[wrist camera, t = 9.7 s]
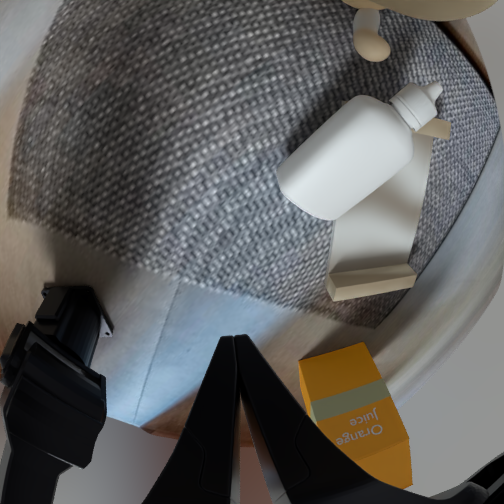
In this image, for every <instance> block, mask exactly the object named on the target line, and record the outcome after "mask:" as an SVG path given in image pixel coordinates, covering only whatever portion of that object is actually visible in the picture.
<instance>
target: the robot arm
mask: <svg viewBox="0 0 504 504" xmlns="http://www.w3.org/2000/svg"><path fill="white" fill-rule="evenodd" d="M88 291H89V292H88ZM41 294H42V296H43V298H44V300H43V302H42V304H41V306H40V307H39V309H38V311H37V313H36V315H35V318H36V321H35V323H34V324H33V323H32V322H31V321H28V322H27V324H26V325H24V324H23V325H22V324H19V323H17V324H16V325H15V327H14V329H13V331H12V333H11V335H10V337H9V339H8V341H7V343H6V345H5V347H4V350H3V352H2V355H1V357H0V363H1V366H2V370H1V373H2V374H1V378H0V382H1V383H2V384H4V385H5V387H4V390H3V392H2V395H1V398H0V408H1V414H2V419H3V424H4V429H5V433H6V437H7V440H6V444H5V448H4V451H3V456H2V459H1V464H0V504H53V500H54V495H55V491H56V486H57V482H58V479H59V476H60V475H61V474H62V473H64V472H65V471H67V470H68V469H70V468H71V467H73V466H76V467H78V468H81V469H84V468H85V467H86V466H87V465H88V464H89V463H90V462H91V459H92V454H93V449H94V445H95V441H96V439H97V437H98V434H99V432H100V431H101V430H102V428H103V426H104V423H105V420H106V415H107V405H106V377H105V376H103V375H101V374H98V373H97V372H95V371H94V370H92V369H90V365H91V362H92V358H93V355H94V352H95V348H96V345H97V342H98V339H99V337H111V336H112V334H113V331H112V329H111V327H110V325H109V323H108V321H107V319H106V317H105V315H104V313H103V310H102V308H101V306H100V304H99V302H98V300H97V297H96V295H95V293H94V290H93V289H92V288H91V287H90V286H74V287H52V288H43V290H42V292H41ZM239 387H240V388H239ZM240 395H241V400H242V404H243V408H244V411H245V415H246V419H247V422H248V426H249V429H250V433H251V436H252V439H253V443H254V446H255V449H256V453H257V456H258V459H259V462H260V466H261V469H262V472H263V475H264V478H265V481H266V484H267V487H268V490H269V493H270V496H271V499H272V502H273V504H504V452H503V453H502V454H500V455H498V456H497V457H495V458H494V459H493V460H491V461H490V462H489V463H487V464H486V465H485V466H483V467H482V468H480V469H479V470H478V471H477V472H475V473H474V474H473V475H472V476H470V477H469V478H468V479H467V480H465V481H464V482H463V483H461V484H460V485H458V486H456V487H454V488H452V489H449V490H447V491H444V492H442V493H439V494H437V495H434V496H431V497H425V496H422V495H418V494H415V493H412V492H409V491H406V490H403V489H400V488H398V487H395V486H392V485H390V484H387V483H384V482H382V481H380V480H378V479H376V478H375V477H373V476H372V475H370V474H369V473H367V472H366V471H365V470H363V469H362V468H361V467H360V466H359V465H357V464H356V463H355V462H354V461H353V460H352V459H350V458H349V457H348V456H347V455H346V454H345V453H344V452H342V451H341V450H340V449H339V448H338V447H337V446H336V445H335V444H334V443H333V442H332V441H331V440H330V439H328V438H327V437H326V436H325V434H324V433H323V432H322V431H321V430H320V429H319V428H318V426H317V425H316V424H315V423H314V422H313V421H312V419H311V418H310V417H309V416H308V415H306V412H305V411H304V409H303V408H302V407H301V406H300V404H299V403H298V402H297V400H296V399H295V398H294V397H293V395H292V394H291V393H290V391H289V390H288V389H287V388H286V386H285V385H284V384H283V382H282V381H281V380H280V378H279V377H278V376H277V374H276V373H275V372H274V370H273V369H272V368H271V366H270V365H269V363H268V362H267V361H266V359H265V358H264V357H263V355H262V354H261V353H260V351H259V350H258V348H257V347H256V346H255V344H254V343H253V341H252V340H251V339H250V337H249V336H248V335H247V334H242V335H235V337H233V336H222V337H220V339H219V342H218V344H217V347H216V349H215V351H214V354H213V356H212V359H211V361H210V364H209V366H208V369H207V371H206V374H205V376H204V379H203V381H202V384H201V386H200V389H199V391H198V394H197V396H196V399H195V401H194V403H193V406H192V408H191V411H190V413H189V416H188V418H187V421H186V423H185V427H184V428H183V430H182V433H181V435H180V438H179V440H178V442H177V444H176V446H175V449H174V451H173V453H172V455H171V457H170V458H169V460H168V462H167V464H166V466H165V467H164V469H163V471H162V472H161V474H160V476H159V477H158V479H157V481H156V482H155V484H154V486H153V487H152V489H151V490H150V492H149V494H148V495H147V497H146V498H145V500H144V501H143V502H142V504H240V408H241V402H240Z"/></svg>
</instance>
